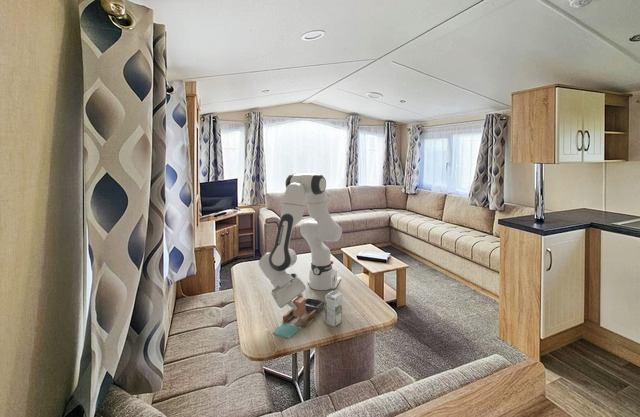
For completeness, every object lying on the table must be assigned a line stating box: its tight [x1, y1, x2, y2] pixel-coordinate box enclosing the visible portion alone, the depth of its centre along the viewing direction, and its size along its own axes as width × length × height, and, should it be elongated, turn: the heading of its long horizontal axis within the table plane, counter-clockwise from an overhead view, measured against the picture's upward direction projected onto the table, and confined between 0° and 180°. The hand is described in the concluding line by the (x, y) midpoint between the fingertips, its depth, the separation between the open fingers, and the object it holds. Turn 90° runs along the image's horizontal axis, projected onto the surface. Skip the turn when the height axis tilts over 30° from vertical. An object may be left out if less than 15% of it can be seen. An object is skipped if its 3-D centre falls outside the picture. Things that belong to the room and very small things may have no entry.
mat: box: [271, 322, 302, 340], centre depth 138 cm, size 9×9×1 cm
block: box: [292, 297, 307, 318], centre depth 147 cm, size 5×4×8 cm
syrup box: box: [324, 290, 343, 328], centre depth 143 cm, size 6×6×14 cm
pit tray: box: [306, 296, 325, 314], centre depth 159 cm, size 8×10×3 cm
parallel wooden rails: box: [282, 307, 317, 329], centre depth 148 cm, size 12×11×3 cm
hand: (300, 306), depth 147 cm, fingers closed on block, 5 cm apart
